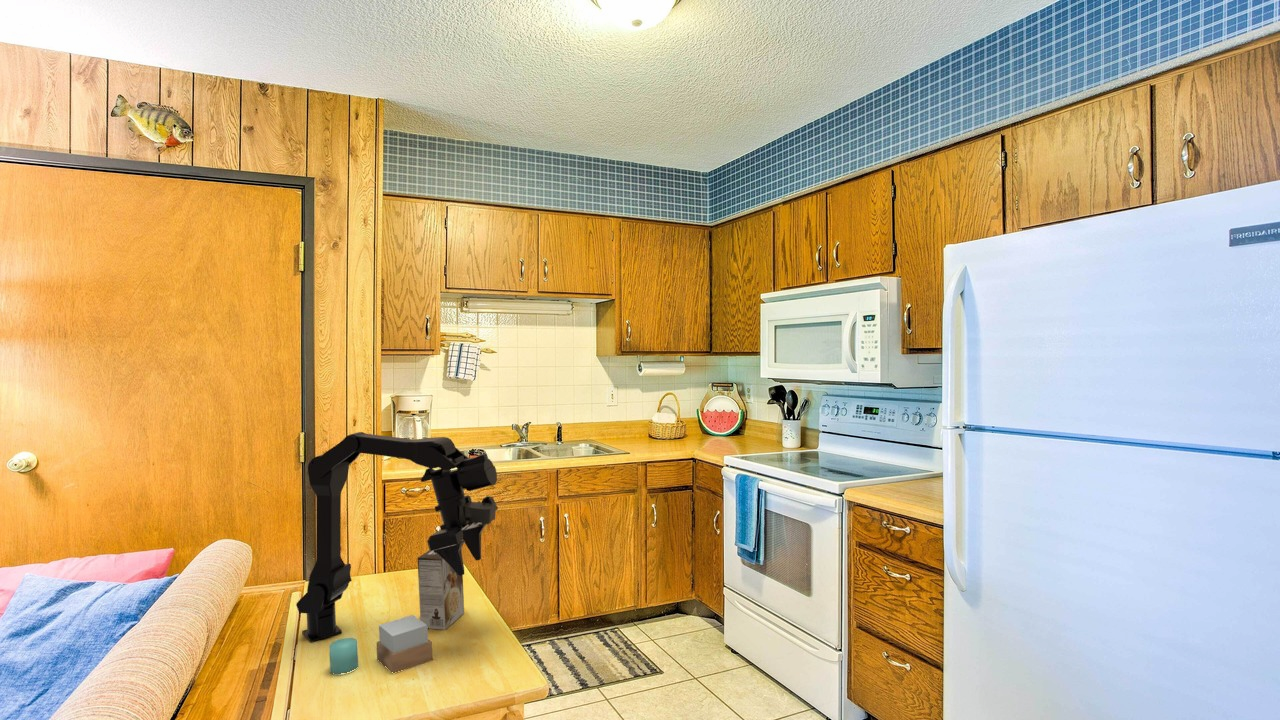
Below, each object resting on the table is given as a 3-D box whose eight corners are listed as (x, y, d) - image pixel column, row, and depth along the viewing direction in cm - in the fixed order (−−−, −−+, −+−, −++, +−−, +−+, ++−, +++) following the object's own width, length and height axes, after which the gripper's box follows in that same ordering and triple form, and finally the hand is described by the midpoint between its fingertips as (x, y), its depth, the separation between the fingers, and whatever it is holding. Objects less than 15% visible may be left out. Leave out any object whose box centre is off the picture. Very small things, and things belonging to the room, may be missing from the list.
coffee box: (439, 611, 159) (437, 544, 158) (465, 613, 157) (462, 545, 157) (419, 628, 150) (416, 557, 149) (446, 630, 148) (443, 558, 148)
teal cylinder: (326, 668, 132) (325, 643, 132) (353, 660, 136) (351, 635, 136) (335, 678, 129) (334, 652, 128) (362, 668, 132) (361, 643, 132)
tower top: (379, 642, 135) (378, 625, 135) (413, 631, 140) (412, 614, 140) (393, 654, 130) (392, 636, 130) (428, 642, 135) (427, 625, 134)
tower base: (377, 661, 136) (376, 642, 135) (415, 648, 141) (414, 629, 141) (393, 675, 130) (392, 655, 129) (432, 661, 135) (432, 641, 135)
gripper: (468, 497, 133) (490, 574, 133) (500, 477, 151) (519, 544, 151) (417, 511, 134) (438, 586, 134) (455, 489, 153) (473, 556, 153)
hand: (470, 567), depth 143 cm, fingers open, 9 cm apart
